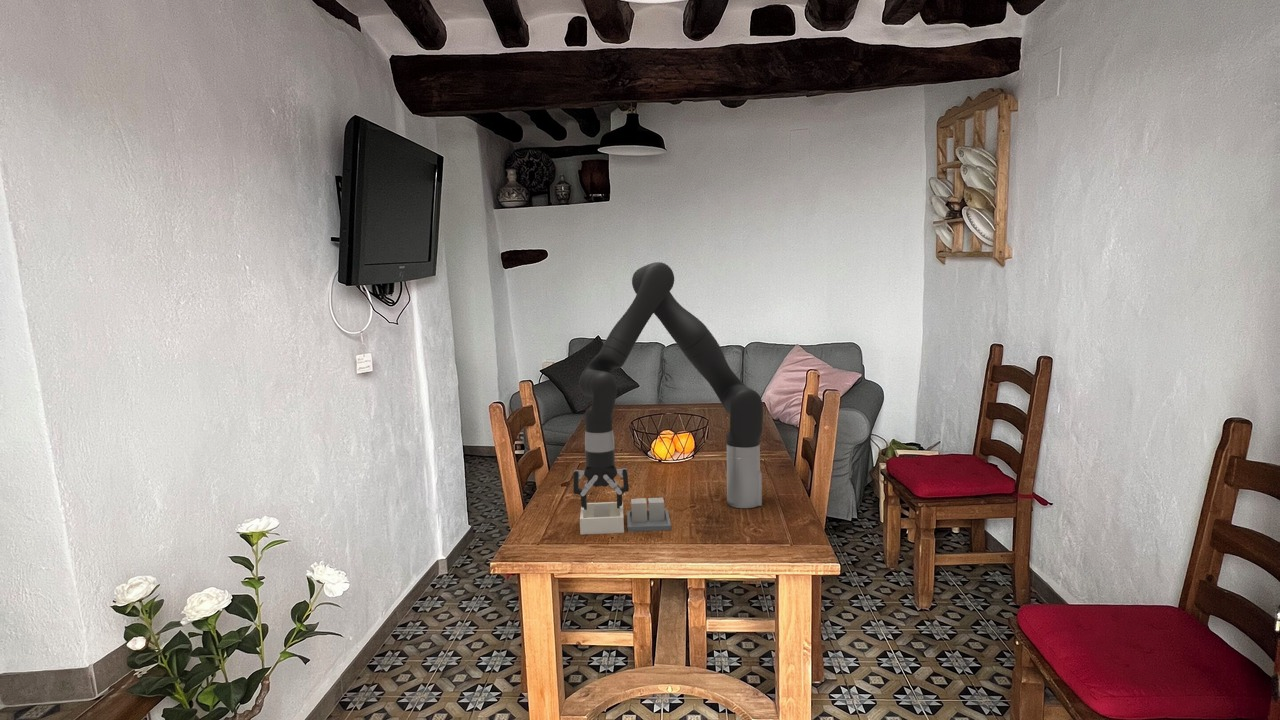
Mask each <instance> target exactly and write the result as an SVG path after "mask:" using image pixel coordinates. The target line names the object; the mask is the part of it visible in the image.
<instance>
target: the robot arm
mask: <svg viewBox="0 0 1280 720" xmlns="http://www.w3.org/2000/svg"><path fill="white" fill-rule="evenodd" d="M674 283H675V274H674V271H673V270H672V268H671V267H670V266H669V265H668V264H666V263H665V262H661V261H659V262H658V261H657V262H652V263H649V264H645V265H643V266H641V267H639V268H637V269H636V270H635V271H634V272H633V274H632V277H631V285H632V288H633V291H634V293H635V294H636V295H635V297H634V299H633V300H632V303H631V304H630V306H629V307H628V309H626V311H625V312H624V314H623V315H622V317H620V318H619V320H618V321H617V322H616V323H615V325H614V326H613V328H612V329H611V331H610V332H609V334H608V336H607V337H606V339H605V341H604V343H603V345H602V346H601V349H600V351H599V352H598V353H597V354H596V355H595V356H594V357H593V358H592V359H591V361H590V362H589V363H588V364H587V366H586V367H585V368H584V369H583V371H582V372H581V375H580V376H579V380H578V388H579V390H580V393H582V394H583V395H584V396H586V397H590V398H592V404H591V406H590V407H588V408H587V409H586V410H585V413H584V425H585V426H584V427H585V428H584V429H585V431H584V432H585V434H584V449H585V451H584V453H585V454H584V455H585V469H584V470H583V469H582V470H579V469H578V468H575V469H574V470H573V488H572V489H573V494H574V495H578V496H580V501H581V502H580V507H581V506H582V508H584V510H587V503H588V500H587V499H588V498H587V497H588V495H587V493H588V491H589V490H590V489H591V488H592V486H594V487H596V488H599V487H608V486H610V488H612V490H614V492H617V493H616V502H617V508H620V506H622V502H623V494H625V493H624V492H627V493H629V491H630V488H629V487H630V486H629V485H630V484H629V477H628V468H627V467H626V466H624V467H622V468H616V458H615V455H616V453H615V450H616V449H615V435H614V430H613V429H614V428H613V426H614V425H613V424H614V423H613V421H614V420H613V412H614V409H615V403H616V398H617V394H618V393H617V391H618V385H617V381H616V378H615V376H614V375H613V374H612V372H613V371H614V370H617V369H621V368H622V367H623V366H624V365H625V363H626V361H627V359H628V357H629V356H630V354H631V352H632V350H633V348H634V346H635V345H636V343H637V341H638V338H640V336H641V333H642V332H643V330H644V328H645V327H646V325H647V323H648V322H649V320H650V319H651V318H652V316H653V314H654V315H655V317H656V318H657V319H658V320H659V321H660V323H661V324H662V325H663V326H664V328H665V330H666V331H667V333H668V334H669V336H670V337H671V338H672V339H673V340H674V342H675V343H676V344H677V346H678V348H679V350H681V353H683V354H684V356H685V357H686V358H687V360H688V361H689V362H690V363H691V365H693V367H694V368H695V369H696V371H697V372H698V373H699V374H700V375H701V376H702V377H703V378H704V379H705V380H706V381H707V383H708V384H709V386H711V388H712V390H713V391H714V393H715V395H716V397H717V399H718V400H719V401H720V403H721V405H722V407H723V409H724V410H725V412H726V413H727V414H728V415H729V417H730V418H729V431H728V432H727V433H726V439H725V441H726V443H725V444H726V445H725V446H726V503H727V505H729V507H732V508H737V509H752V508H757V507H761V506H763V496H762V495H763V477H762V476H763V474H762V471H761V463H760V462H761V437H762V434H763V420H764V419H763V417H764V415H763V414H764V408H763V407H764V406H763V399H762V398H761V395H760V394H759V392H757V391H755V390H754V389H752V388H750V387H748V386H747V385H746V384H744V383H743V382H742V380H741V379H740V378H739V377H738V376H737V375H736V374H735V372H734V371H733V370H732V369H731V367H730V365H729V364H728V362H727V359H726V357H725V354H724V352H723V349H722V347H721V346H720V344H719V343H718V341H717V339H716V338H715V337H714V335H713V334H712V332H711V331H710V330H709V328H708V327H707V326H706V325H705V324H704V323H703V321H702V320H700V319H699V318H698V317H696V316H695V315H694V314H692V313H691V312H690V311H689V310H687V309H686V308H685V307H684V306H682V305H681V304H680V303H679V302H678V301H677V300H676V298H675V297H674V296H673V294H672V293H671V290H672V289H673V287H674ZM617 475H619V477H620V478H622V481H623V486H620V485H619V483H618V482H617V480H615V477H616V476H617ZM583 476H584V477H585V478H586V479H587V481H586V482H585V484H584V486H583V487H582V488H580V486H579V485H580V483H579V482H580V480H581V479H582V477H583Z"/></svg>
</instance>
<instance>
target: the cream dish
mask: <svg viewBox="0 0 1280 720" xmlns="http://www.w3.org/2000/svg"><path fill="white" fill-rule="evenodd" d="M594 504H609V507H610V517H594ZM579 532H580V533H579V534H580V535H602V534H604V535H605V534H624V533H625V525H624V501H622V506H620V508H617V501H609V502H608V501H607V502H605V501H604V502H587V510H584V508H582V506H581V505H580V516H579Z"/></svg>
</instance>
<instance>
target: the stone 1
mask: <svg viewBox="0 0 1280 720" xmlns="http://www.w3.org/2000/svg"><path fill="white" fill-rule="evenodd" d="M594 517H610V507H609V504H594Z"/></svg>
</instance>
